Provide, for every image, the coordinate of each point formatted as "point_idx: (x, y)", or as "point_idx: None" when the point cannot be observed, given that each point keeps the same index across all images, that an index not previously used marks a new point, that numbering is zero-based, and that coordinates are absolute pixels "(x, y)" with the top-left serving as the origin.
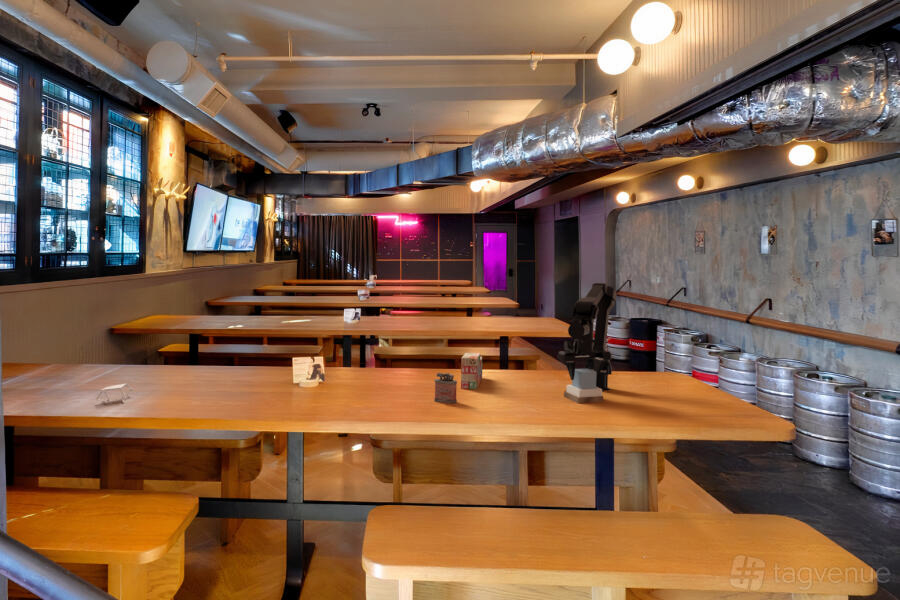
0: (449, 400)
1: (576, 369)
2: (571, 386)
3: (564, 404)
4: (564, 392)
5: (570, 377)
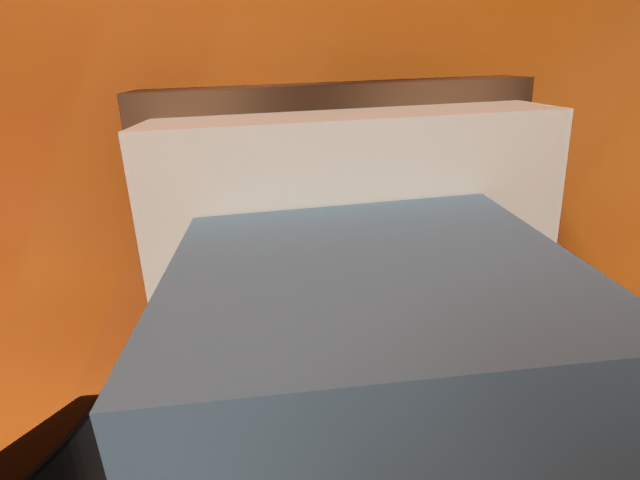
0: None
1: (224, 467)
2: (161, 265)
3: (24, 421)
4: (122, 110)
5: (46, 423)
